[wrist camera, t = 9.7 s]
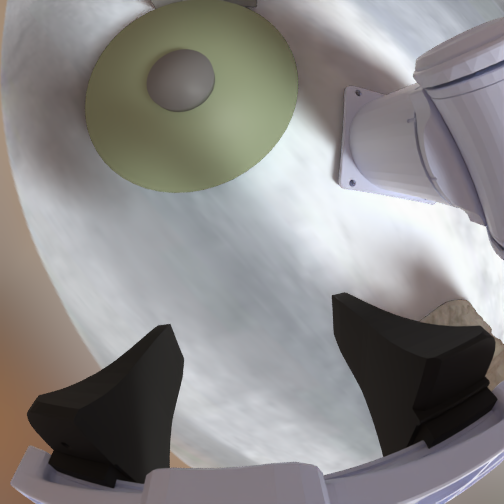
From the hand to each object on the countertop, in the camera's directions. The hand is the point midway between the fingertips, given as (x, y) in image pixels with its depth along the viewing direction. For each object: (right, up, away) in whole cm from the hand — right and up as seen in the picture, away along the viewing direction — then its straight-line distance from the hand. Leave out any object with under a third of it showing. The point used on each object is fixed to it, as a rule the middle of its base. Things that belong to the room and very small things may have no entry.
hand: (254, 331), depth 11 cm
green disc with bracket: (-4, +20, +3) cm, 21 cm away
